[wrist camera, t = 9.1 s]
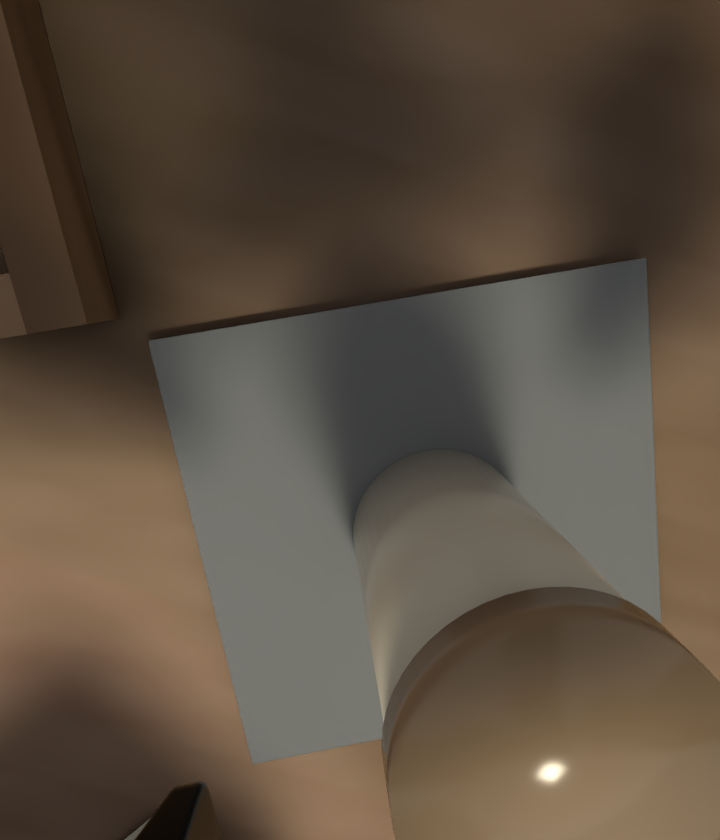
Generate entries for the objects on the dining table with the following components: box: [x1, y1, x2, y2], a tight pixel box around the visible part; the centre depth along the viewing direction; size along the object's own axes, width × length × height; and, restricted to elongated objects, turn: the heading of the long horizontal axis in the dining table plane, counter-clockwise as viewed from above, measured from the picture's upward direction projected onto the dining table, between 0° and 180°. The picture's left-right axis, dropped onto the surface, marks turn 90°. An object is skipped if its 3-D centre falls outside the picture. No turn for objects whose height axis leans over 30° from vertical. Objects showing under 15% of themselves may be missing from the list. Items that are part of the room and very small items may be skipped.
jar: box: [353, 449, 720, 840], centre depth 11 cm, size 5×5×8 cm
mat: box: [148, 258, 661, 764], centre depth 15 cm, size 12×12×1 cm
